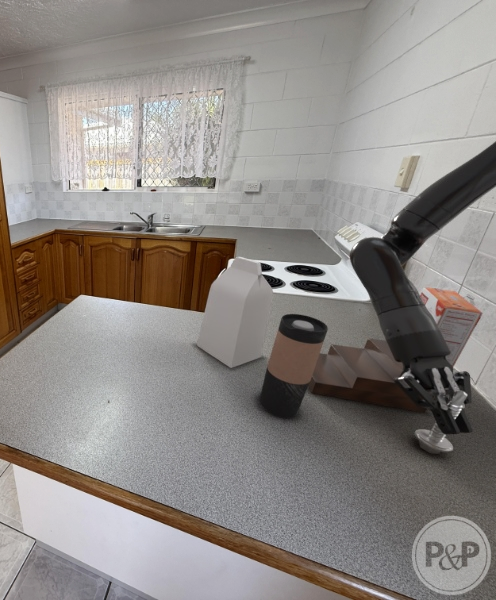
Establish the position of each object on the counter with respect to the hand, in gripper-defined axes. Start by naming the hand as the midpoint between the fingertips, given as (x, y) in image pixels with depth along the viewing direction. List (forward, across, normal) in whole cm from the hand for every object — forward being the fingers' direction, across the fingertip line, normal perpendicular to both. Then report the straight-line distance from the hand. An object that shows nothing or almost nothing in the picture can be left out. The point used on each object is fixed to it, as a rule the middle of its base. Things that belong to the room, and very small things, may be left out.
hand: (457, 432), depth 52 cm
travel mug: (-7, -20, +15) cm, 26 cm away
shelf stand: (-10, +3, +19) cm, 22 cm away
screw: (+3, 0, +6) cm, 6 cm away
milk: (-22, -20, +30) cm, 42 cm away
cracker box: (-11, +21, +19) cm, 30 cm away
